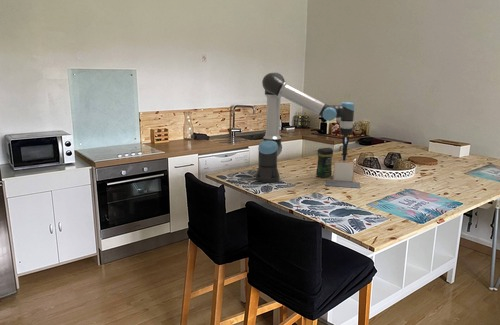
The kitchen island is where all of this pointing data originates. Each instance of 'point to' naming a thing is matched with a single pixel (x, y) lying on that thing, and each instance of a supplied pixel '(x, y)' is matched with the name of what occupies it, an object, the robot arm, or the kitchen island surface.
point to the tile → (343, 171)
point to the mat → (342, 184)
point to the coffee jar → (324, 162)
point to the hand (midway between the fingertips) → (343, 165)
